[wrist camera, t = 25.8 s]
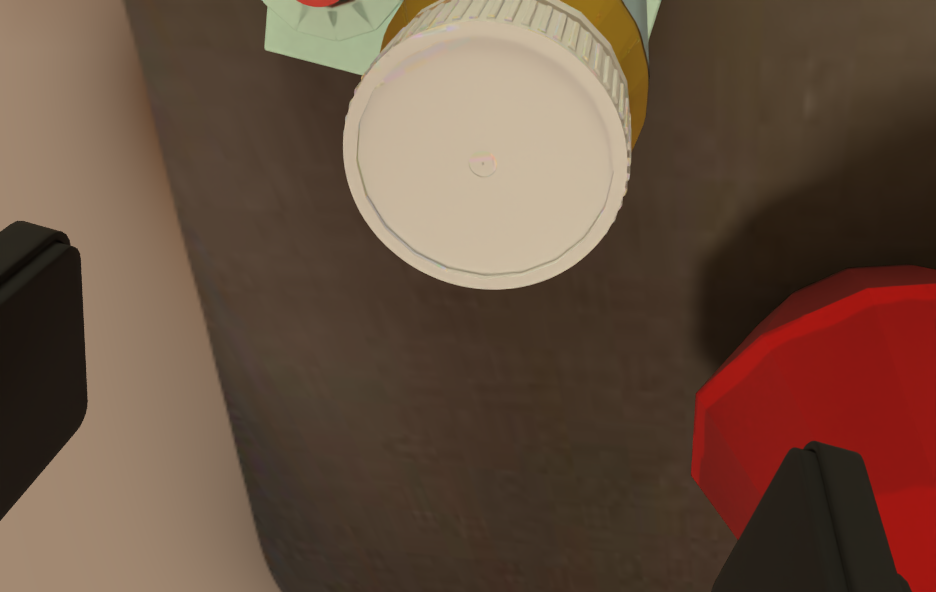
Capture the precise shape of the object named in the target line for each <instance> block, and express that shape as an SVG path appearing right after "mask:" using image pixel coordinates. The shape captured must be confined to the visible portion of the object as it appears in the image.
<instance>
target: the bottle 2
mask: <svg viewBox="0 0 936 592" xmlns="http://www.w3.org/2000/svg"><path fill="white" fill-rule="evenodd" d="M810 441H818V442H822V443H825V444H829V445H833V446H836V447H840V448H843V449H847V450H851V451H854V452H857V453H859V454H860V455H861V456H862V458H863V460H864V463H865V466H866V470H867V473H868V476H869V480H870V483H871V486H872V490H873V493H874V496H875V500H876V503H877V507H878V510H879V513H880V517H881V520H882V523H883V527H884V530H885V533H886V537H887V540H888V544H889V547H890V550H891V554H892V557H893V560H894V564H895V567H896V570H897V574H900V575H901V576H902V577H903V578H904V579H905V580H906V581H907V582H908V584H909V586H910V588H911V591H912V592H936V270H935V269H930V268H925V267H920V266H915V265H910V264H904V265H887V266H871V267H855V268H846V269H844V270H842V271H839V272H837V273H835V274H833V275H831V276H828V277H826V278H824V279H822V280H819V281H817V282H815V283H813V284H811V285H808V286H806V287H804V288H802V289H799V290H797V291H795V292H793V293H792V294H791V295H790V296H789V297H788V298H787V299H786V300H784V301H783V302H782V303H781V304H780V305H779V306H778V307H777V308H776V309H775V310H773V311H772V312H771V313H770V314H769V315H768V316H767V317H766V318H765V319H764V320H763V321H761V322H760V323H759V324H758V325H757V326H756V327H755V329H754V330H753V331H752V332H751V333H750V334H749V335H748V336H747V337H746V339H745V340H744V341H743V342H742V343H741V344H740V345H739V346H738V347H737V349H736V350H735V351H734V352H733V353H732V354H731V355H730V356H729V357H728V359H727V360H726V361H725V362H724V363H723V364H722V365H721V366H720V367H719V369H718V370H717V371H716V372H715V373H714V374H713V375H712V376H711V377H710V379H709V380H708V381H707V382H706V383H705V384H704V385H703V386H702V387H701V389H700V390H699V391H698V392H697V393H696V401H695V417H694V434H693V451H692V468H691V476H692V477H693V479H694V480H695V481H696V483H697V484H698V486H699V487H700V488H701V490H702V491H703V492H704V494H705V495H706V497H707V498H708V499H709V501H710V502H711V503H712V505H713V506H714V508H715V509H716V510H717V512H718V513H719V514H720V516H721V517H722V519H723V520H724V521H725V523H726V524H727V525H728V527H729V528H730V530H731V531H732V532H733V534H734V535H735V537H736V538H737V539H738V540H739V538H740V536H741V534H742V532H743V531H744V529H745V527H746V525H747V523H748V522H749V520H750V518H751V516H752V515H753V513H754V511H755V509H756V507H757V506H758V504H759V502H760V500H761V498H762V497H763V495H764V493H765V491H766V490H767V488H768V486H769V484H770V482H771V481H772V479H773V477H774V475H775V473H776V472H777V470H778V468H779V466H780V465H781V463H782V461H783V459H784V457H785V456H786V454H787V453H788V451H789V450H790V449H791V448H793V447H796V448H800V449H803V448H804V447H805V446H806V444H808V443H809V442H810Z"/></svg>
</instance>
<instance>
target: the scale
mask: <svg viewBox="0 0 936 592" xmlns="http://www.w3.org/2000/svg"><path fill="white" fill-rule="evenodd" d="M262 1H263V2H264V3H265V4H266V5H267V6H268V7H267V20H266V33H265V46H264V48H265V50H267V51H271V52H275V53H279V54H282V55H286V56H290V57H294V58H298V59H302V60H306V61H309V62H313V63H317V64H321V65H325V66H329V67H332V68H336V69H340V70H344V71H348V72H352V73H355V74H359V75H363V74H364V73H365V72H366V70H367V69H368V68H369V67H370V64H371V63H372V62H373V61H374V60H375V58H376V57H377V56H378V55H379V54H380V50H381V45H382V41H383V37H384V34H385V32H386V29H387V27H388V24H389V23H390V21H391V20H392V18H393V17H394V15H395V13H396V12H397V10H398V9H399V7H400V6H401V4H402V2H403V1H404V0H339V1H338V2H336V3H335V4H332V5H330V6H326V7H312V6H308V5H305V4H302V3H300V2H298V1H297V0H262ZM660 3H661V0H647V25H648V41H649V38H650V34H651V31H652V28H653V25H654V22H655V19H656V16H657V13H658V10H659V7H660Z"/></svg>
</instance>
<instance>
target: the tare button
mask: <svg viewBox="0 0 936 592" xmlns="http://www.w3.org/2000/svg"><path fill="white" fill-rule="evenodd" d="M297 1H298V2H300V3H302V4H305V5H308V6H312V7H326V6H330V5H332V4H335V3H336V2H338V1H339V0H297Z"/></svg>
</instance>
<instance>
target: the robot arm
mask: <svg viewBox="0 0 936 592" xmlns="http://www.w3.org/2000/svg"><path fill="white" fill-rule="evenodd" d="M86 381H87V380H86V360H85V340H84V318H83V297H82V276H81V258H80V253H79V251H78V249H77V248H75V247H73V246H70V240H69V239H68V237H67V235H66V234H64V233H63V232H61V231H57V230H53V229H50V228H46V227H43V226H39V225H36V224H32V223H28V222H25V221H16V222H14V223H12V224H10V225H9V226H8V227H6V228H5V229H3V230H2V231H1V232H0V521H1V519H2V518H3V517H4V516H5V515H6V513H7V512H8V511H9V510H10V509H11V508H12V506H13V505H14V504H15V503H16V502H17V500H18V499H19V498H20V497H21V496H22V495H23V493H24V492H25V491H26V490H27V489H28V488H29V486H30V485H31V484H32V483H33V482H34V480H35V479H36V478H37V477H38V476H39V475H40V473H41V472H42V471H43V470H44V469H45V467H46V466H47V465H48V464H49V463H50V462H51V460H52V459H53V458H54V457H55V456H56V455H57V453H58V452H59V451H60V450H61V449H62V448H63V446H64V445H65V444H66V443H67V442H68V440H69V439H70V438H71V437H72V436H73V435H74V433H75V432H76V431H77V430H78V428H79V427H80V425H81V423H82V421H83V419H84V416H85V414H86V409H87V402H88V400H87V382H86ZM711 592H912V591H911V588H910V586H909V584H908V582H907V581H906V580H905V579H904V578H903V577H902V576H901V575H900V574H897V570H896V567H895V564H894V560H893V557H892V554H891V550H890V547H889V544H888V540H887V537H886V533H885V530H884V527H883V523H882V520H881V517H880V513H879V510H878V507H877V503H876V500H875V496H874V493H873V490H872V486H871V483H870V480H869V476H868V473H867V470H866V466H865V463H864V460H863V458H862V456H861V455H860V454H859V453H857V452H854V451H851V450H847V449H843V448H840V447H836V446H833V445H829V444H825V443H822V442H818V441H810V442H809V443H808V444H806V446H805V447H804V448H803V449H800V448H796V447H793V448H791V449H790V450H789V451H788V453H787V454H786V456H785V457H784V459H783V461H782V463H781V465H780V466H779V468H778V470H777V472H776V473H775V475H774V477H773V479H772V481H771V482H770V484H769V486H768V488H767V490H766V491H765V493H764V495H763V497H762V498H761V500H760V502H759V504H758V506H757V507H756V509H755V511H754V513H753V515H752V516H751V518H750V520H749V522H748V523H747V525H746V527H745V529H744V531H743V532H742V534H741V536H740V538H739V540H738V541H737V543H736V545H735V547H734V548H733V550H732V552H731V554H730V556H729V557H728V559H727V561H726V563H725V565H724V566H723V568H722V570H721V572H720V573H719V575H718V577H717V579H716V581H715V583H714V585H713V588H712V591H711Z"/></svg>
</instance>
